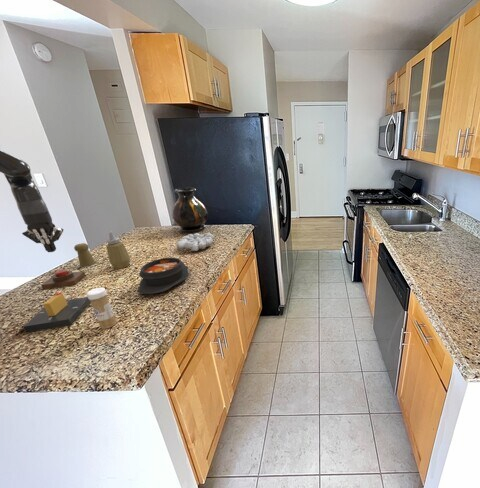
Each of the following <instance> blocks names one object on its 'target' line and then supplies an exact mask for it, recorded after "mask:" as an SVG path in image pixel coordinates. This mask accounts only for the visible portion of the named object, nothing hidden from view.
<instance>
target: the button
mask: <svg viewBox="0 0 480 488" xmlns="http://www.w3.org/2000/svg"><path fill="white" fill-rule="evenodd" d="M67 271H68V270H67V269H59V270H57V271H55V272H54V274H56V276H57V277H59V276H64V275H66V274H68V272H67Z"/></svg>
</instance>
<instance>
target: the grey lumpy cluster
mask: <svg viewBox="0 0 480 488" xmlns="http://www.w3.org/2000/svg"><path fill="white" fill-rule="evenodd" d="M214 240H215V236H214V235H213V234H211V232H205V233H204V234H200V233H199V232H195V233H187V235H184V236H182V237H181V239H180V240H179V241H177V242H176V244H175V247H176V248H177V249H179V250H182V251H184V250H186V249H188V250H190V251H192V252H197V251H200V250H205V249H206V248H208V247H211V246H212V244H213V241H214Z"/></svg>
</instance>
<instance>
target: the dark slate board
mask: <svg viewBox="0 0 480 488" xmlns="http://www.w3.org/2000/svg"><path fill="white" fill-rule="evenodd" d="M65 300H66V302H67V304H68V305H67V306H66V307H64V308H63V309H62V310H61V311H60V312H59V313H57V314H56V315H55V316H49V315H48V313H47V311H46V309H45V307H44V306H43V308H42V309H40V310H39V312H37V313H36V314H35V315H34V316H33V317H32V318H31V319H30V320H28V321H27V322H26V323H25V324H24V325H23V326H22V329H23V330H24V332H25V334H29V333H33V332H40V331H45V330H50V329H56V328H57V329H58V328H63V327H69V326H72V325H73V324H74V323H75V322H76V321H77V319H78V318H79V317H80V316H81V315H82V314H83V312H84V311H85V310H86V309H87V308H88V307H89V306H90V304H91V302H90V300H89V299H88V296H85V297H79V298H78V297H77V298H71V299H65Z"/></svg>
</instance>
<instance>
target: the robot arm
mask: <svg viewBox="0 0 480 488" xmlns="http://www.w3.org/2000/svg"><path fill="white" fill-rule="evenodd" d="M0 173H1V174H3V175H4V177H5V179H6V181H7V183H8V185H9V186H10V191H11V193H12V196H13V198H14V200H15V203H16V206H17V209H18V211H19V213H20V215H21V218H22V220H23V222H24V224H25V225H26V226H27V227H26V229H27V230H25V231H23V232H22V233H21V234H22V235H23V236H25V237H26V238H27V239H29V240H31V241H33V242H34V243H35V244H41V245H43V247H44V250H45V252H47V253H54V252H55V251H56V250H57V247H56V245H55V242H57V241H59V239H60V238H61V236H62V234H63V233H64V228H59V227H57V226H56V225H55V224H54V223H53V218H52V216H51V214H50V211H49V209H48V206H47V204H46V202H45V200H44V199H43V197H42V194H41V192H40V190H39V188H38V186H37V185H36V183H35V181H34V177H33V175H32V172H31V167H30V165H29V164H28V163H27V162H25V161H24V160H23V159H21V158H18V157H16V156H14V155H11V154H9V153H7V152H5V151H3V150H1V149H0Z"/></svg>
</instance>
